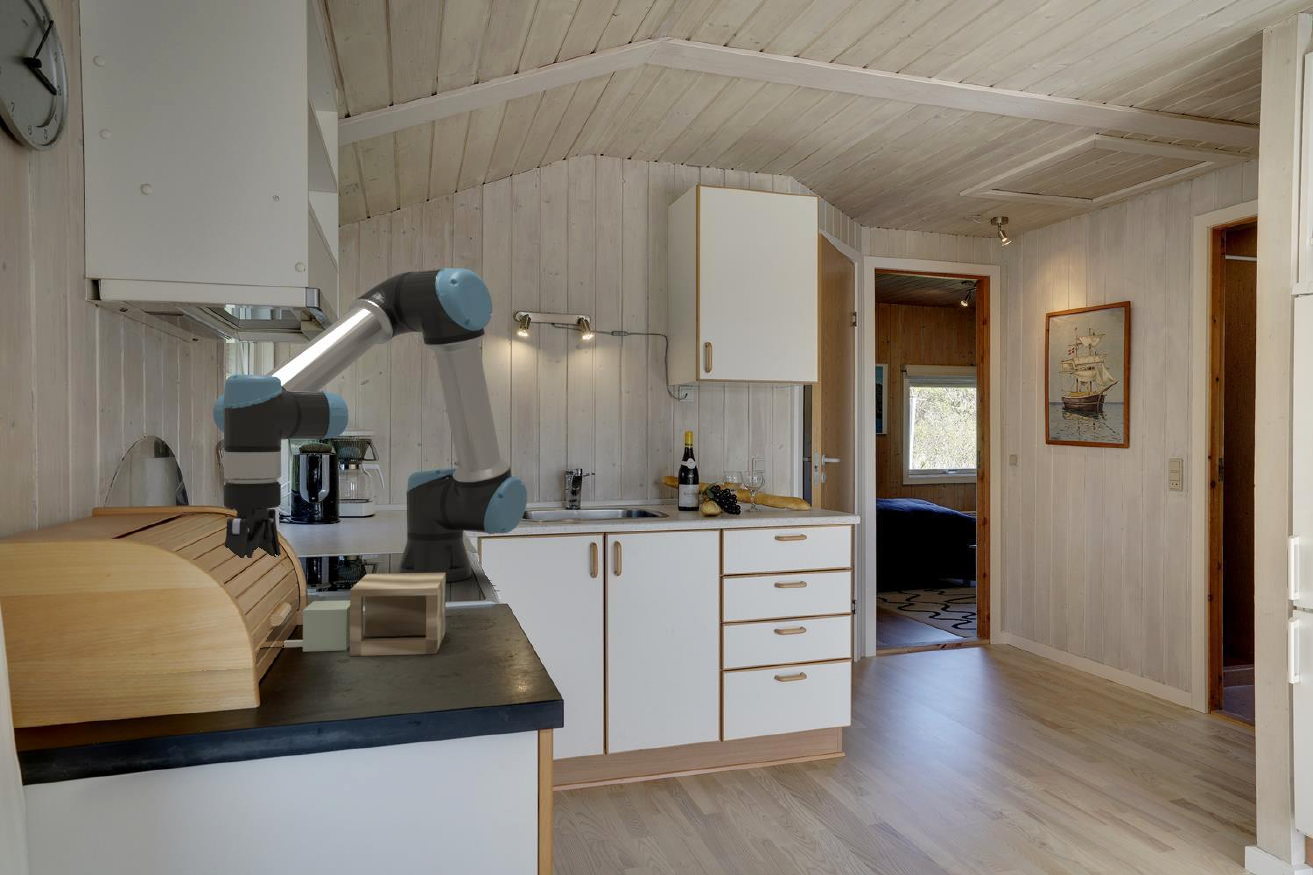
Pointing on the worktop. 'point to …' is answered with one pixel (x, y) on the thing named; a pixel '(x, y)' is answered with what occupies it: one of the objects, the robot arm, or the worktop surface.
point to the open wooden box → (398, 613)
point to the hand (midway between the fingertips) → (252, 625)
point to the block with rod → (324, 627)
